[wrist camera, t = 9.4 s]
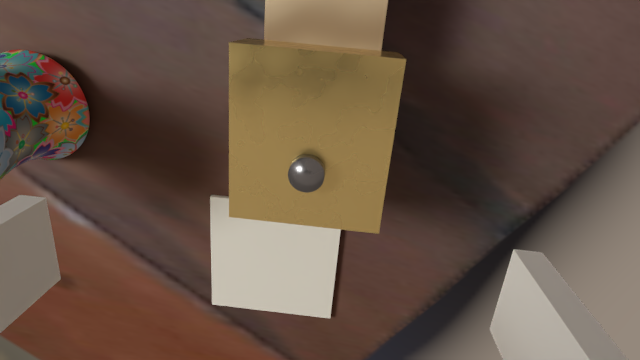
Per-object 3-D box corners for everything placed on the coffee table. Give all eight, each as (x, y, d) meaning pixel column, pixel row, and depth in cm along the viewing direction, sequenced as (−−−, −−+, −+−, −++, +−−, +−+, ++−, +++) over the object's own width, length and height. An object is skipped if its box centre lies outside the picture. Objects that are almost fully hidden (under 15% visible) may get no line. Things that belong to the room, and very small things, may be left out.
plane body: (288, -197, 24) (260, -289, 17) (406, -188, 24) (431, -278, 17) (272, 178, 33) (248, 225, 26) (358, 187, 33) (359, 237, 26)
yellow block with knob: (247, 38, 25) (224, 43, 20) (398, 52, 24) (408, 60, 20) (245, 190, 28) (225, 223, 24) (375, 204, 28) (379, 240, 24)
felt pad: (211, 194, 34) (210, 196, 34) (343, 209, 34) (342, 211, 34) (213, 301, 38) (212, 304, 38) (330, 315, 38) (330, 318, 38)
